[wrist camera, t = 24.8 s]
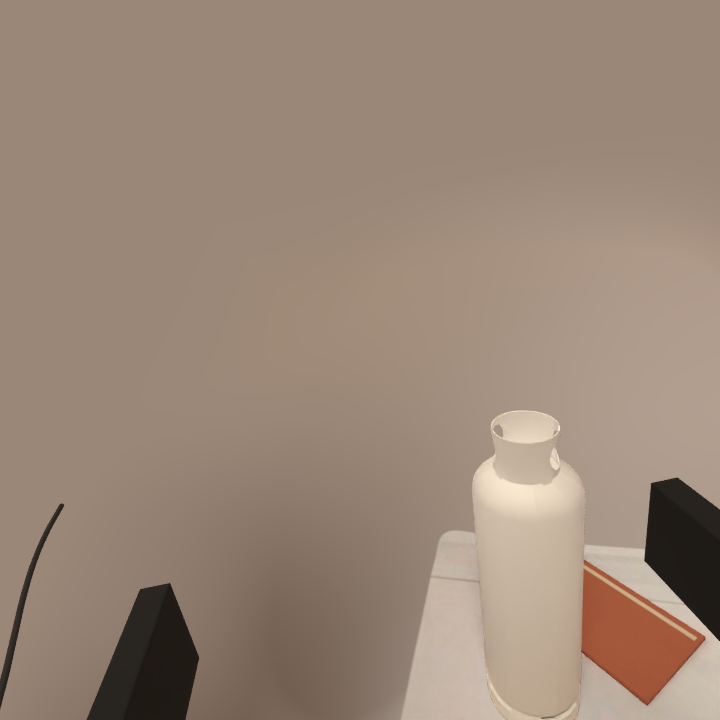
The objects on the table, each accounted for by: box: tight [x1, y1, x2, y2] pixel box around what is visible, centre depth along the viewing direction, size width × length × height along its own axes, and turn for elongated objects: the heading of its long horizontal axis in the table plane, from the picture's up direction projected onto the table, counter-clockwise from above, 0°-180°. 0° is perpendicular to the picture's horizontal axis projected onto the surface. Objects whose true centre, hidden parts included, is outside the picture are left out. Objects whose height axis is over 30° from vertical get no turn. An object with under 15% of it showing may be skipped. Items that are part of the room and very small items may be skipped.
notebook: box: [581, 560, 705, 705], centre depth 48 cm, size 14×10×1 cm
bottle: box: [472, 410, 585, 720], centre depth 38 cm, size 8×8×28 cm
